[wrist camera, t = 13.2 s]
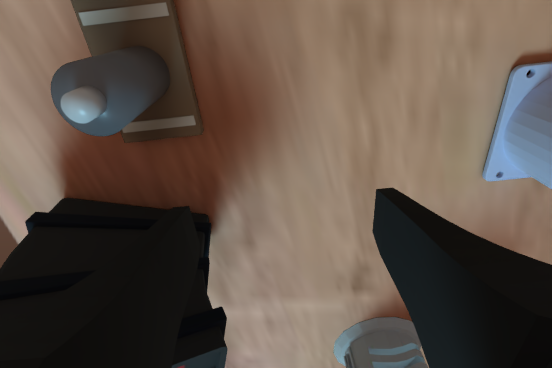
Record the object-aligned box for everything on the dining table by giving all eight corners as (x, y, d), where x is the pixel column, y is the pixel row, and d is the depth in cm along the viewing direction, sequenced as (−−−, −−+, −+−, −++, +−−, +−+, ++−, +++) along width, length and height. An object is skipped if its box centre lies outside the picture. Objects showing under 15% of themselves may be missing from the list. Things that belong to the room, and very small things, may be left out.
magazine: (-4, 198, 20) (-121, 466, 9) (193, 180, 26) (267, 326, 15) (10, 241, 22) (-72, 508, 11) (192, 215, 28) (257, 367, 17)
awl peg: (160, 41, 16) (99, 58, 10) (176, 96, 18) (132, 139, 12) (107, 50, 17) (16, 72, 10) (128, 103, 18) (59, 150, 12)
